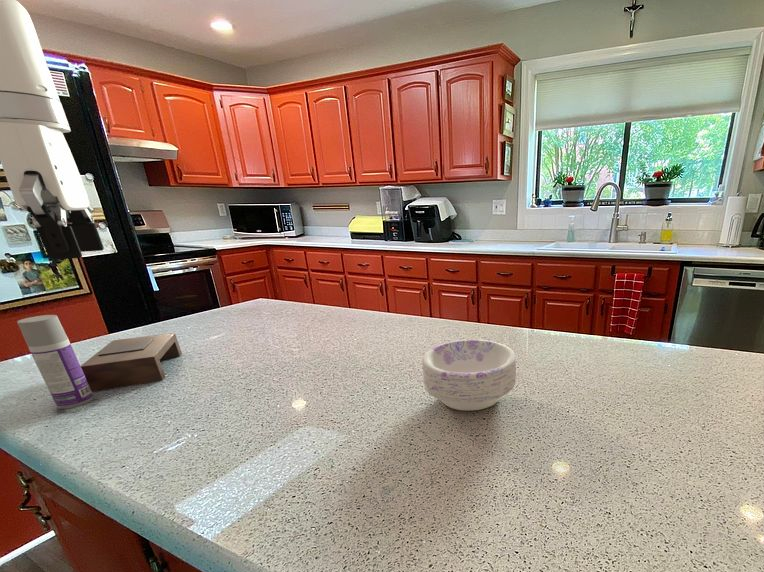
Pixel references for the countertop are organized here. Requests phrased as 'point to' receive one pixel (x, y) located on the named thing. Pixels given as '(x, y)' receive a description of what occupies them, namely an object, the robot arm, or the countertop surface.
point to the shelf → (130, 361)
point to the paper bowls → (469, 373)
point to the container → (56, 360)
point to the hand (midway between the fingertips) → (79, 254)
